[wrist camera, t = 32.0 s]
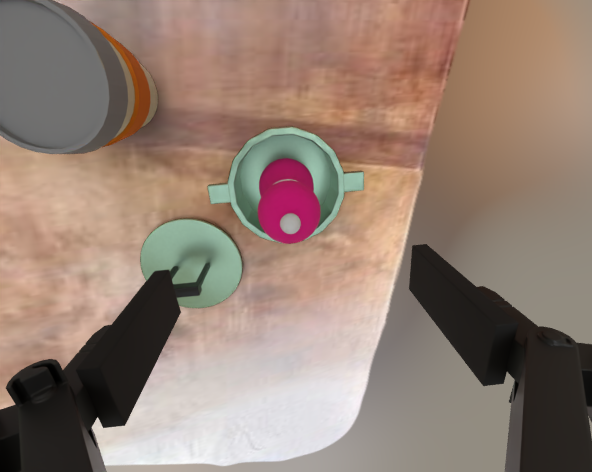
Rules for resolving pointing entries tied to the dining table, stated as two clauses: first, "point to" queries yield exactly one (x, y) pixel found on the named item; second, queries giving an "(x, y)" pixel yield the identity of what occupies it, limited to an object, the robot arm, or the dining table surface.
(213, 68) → the dining table surface
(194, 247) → the lid
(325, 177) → the pot
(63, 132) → the reusable coffee cup
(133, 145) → the dining table surface
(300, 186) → the pepper mill
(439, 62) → the dining table surface
